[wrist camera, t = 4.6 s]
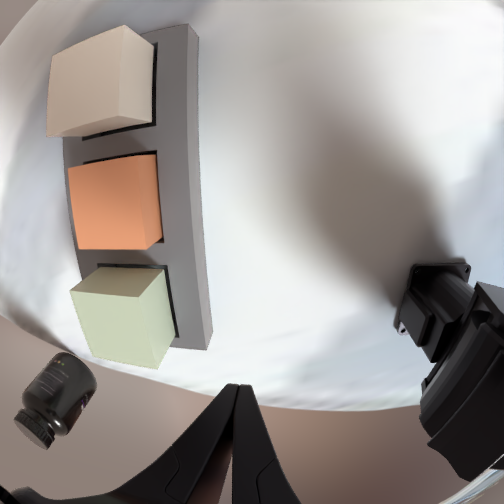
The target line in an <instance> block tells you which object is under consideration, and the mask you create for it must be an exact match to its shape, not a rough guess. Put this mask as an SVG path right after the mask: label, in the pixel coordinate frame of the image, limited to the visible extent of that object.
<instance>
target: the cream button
mask: <svg viewBox="0 0 504 504" xmlns="http://www.w3.org/2000/svg"><path fill="white" fill-rule="evenodd" d="M153 50H154V46H153V45H151V44H150V43H149V42H147V41H146V40H145V39H143V38H142V37H141V36H139V35H138V34H137V33H135V32H134V31H133V30H131V29H130V28H129V27H127V26H126V25H122V26H119V27H116V28H114V29H111V30H108V31H106V32H103V33H101V34H98V35H96V36H93V37H91V38H88V39H86V40H84V41H82V42H79V43H77V44H75V45H73V46H71V47H69V48H67V49H65V50H63V51H61V52H59V53H57V54H55V55H53V56H52V61H51V68H50V77H49V86H48V99H47V125H46V137H68V136H89V135H92V134H96V133H100V132H105V131H109V130H113V129H118V128H123V127H127V126H132V125H138V124H143V123H149V122H152V69H153Z"/></svg>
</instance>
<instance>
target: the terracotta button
mask: <svg viewBox="0 0 504 504" xmlns="http://www.w3.org/2000/svg"><path fill="white" fill-rule="evenodd" d="M68 176H69V187H70V197H71V205H72V212H73V219H74V225H75V231H76V237H77V242H78V247H79V249H148V248H149V247H150V246H152V245H153V244H154V243H155V242H157V241H158V240H159V239H160V238H162V237H163V236H164V234H163V225H162V215H161V204H160V192H159V178H158V161H157V155H138V156H131V157H125V158H118V159H112V160H107V161H101V162H96V163H91V164H86V165H81V166H76V167H72V168H68Z"/></svg>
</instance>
